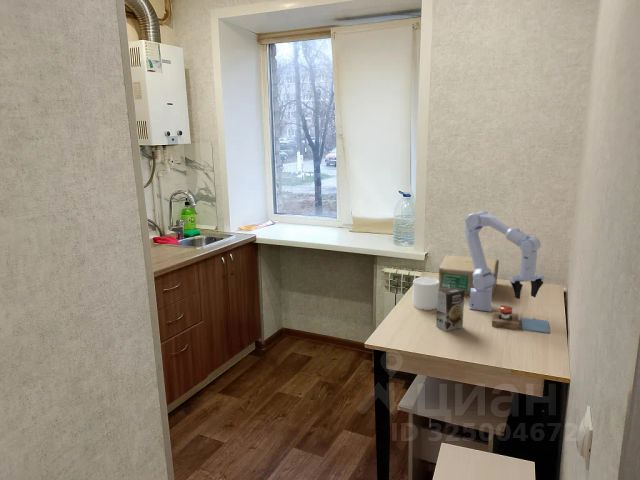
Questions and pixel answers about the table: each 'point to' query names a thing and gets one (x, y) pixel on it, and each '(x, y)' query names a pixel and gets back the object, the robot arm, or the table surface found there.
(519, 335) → the table surface
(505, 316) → the red mushroom head
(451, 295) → the coffee box
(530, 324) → the mat
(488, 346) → the table surface
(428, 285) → the cup
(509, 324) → the eye block
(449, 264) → the paper package
